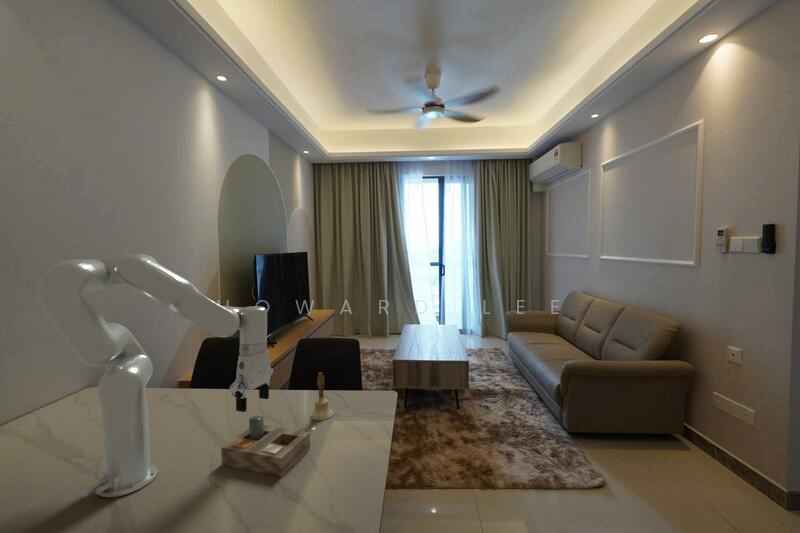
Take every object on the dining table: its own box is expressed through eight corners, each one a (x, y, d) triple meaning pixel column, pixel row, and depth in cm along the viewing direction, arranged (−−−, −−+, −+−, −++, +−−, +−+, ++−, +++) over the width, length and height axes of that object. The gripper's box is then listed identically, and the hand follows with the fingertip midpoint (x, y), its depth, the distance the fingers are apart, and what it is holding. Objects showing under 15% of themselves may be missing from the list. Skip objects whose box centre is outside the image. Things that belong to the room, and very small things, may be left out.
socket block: (310, 448, 106) (309, 431, 106) (281, 476, 93) (281, 457, 93) (255, 439, 112) (255, 423, 112) (221, 464, 99) (221, 446, 99)
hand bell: (310, 422, 124) (309, 377, 123) (310, 412, 132) (309, 370, 131) (334, 418, 126) (333, 375, 125) (332, 409, 134) (331, 368, 133)
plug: (258, 452, 103) (257, 422, 103) (247, 450, 104) (246, 420, 104) (267, 445, 107) (266, 416, 106) (256, 443, 108) (255, 414, 108)
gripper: (242, 356, 95) (242, 418, 95) (282, 342, 112) (281, 395, 112) (220, 354, 97) (220, 414, 98) (262, 340, 114) (262, 392, 114)
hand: (253, 404), depth 105 cm, fingers open, 9 cm apart
